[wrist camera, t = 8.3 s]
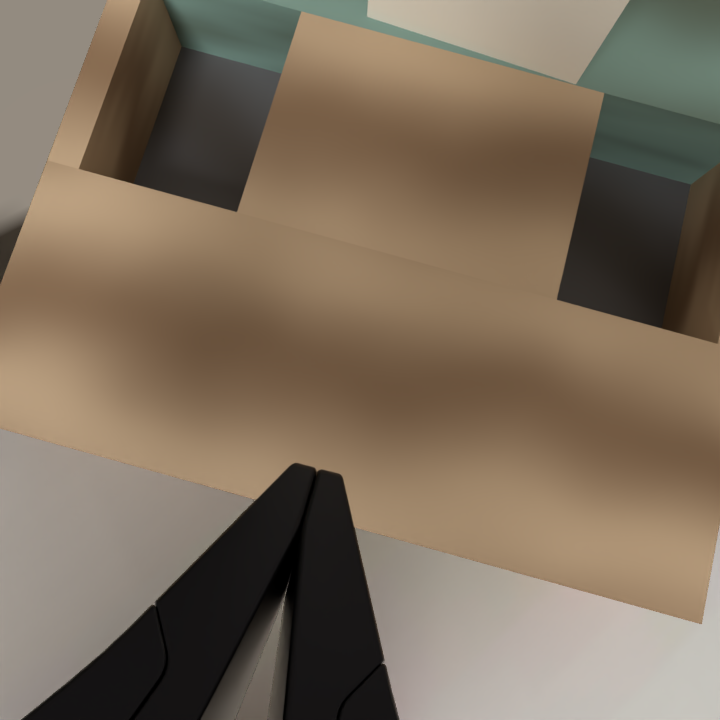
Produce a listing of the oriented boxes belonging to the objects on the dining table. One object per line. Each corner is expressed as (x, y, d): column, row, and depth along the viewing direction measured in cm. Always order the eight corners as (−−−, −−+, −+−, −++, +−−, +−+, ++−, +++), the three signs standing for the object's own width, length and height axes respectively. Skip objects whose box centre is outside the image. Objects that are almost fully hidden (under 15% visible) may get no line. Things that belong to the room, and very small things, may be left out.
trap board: (633, 591, 21) (701, 624, 17) (24, 420, 21) (-49, 414, 17) (747, 12, 24) (826, -72, 20) (220, -128, 25) (197, -240, 21)
